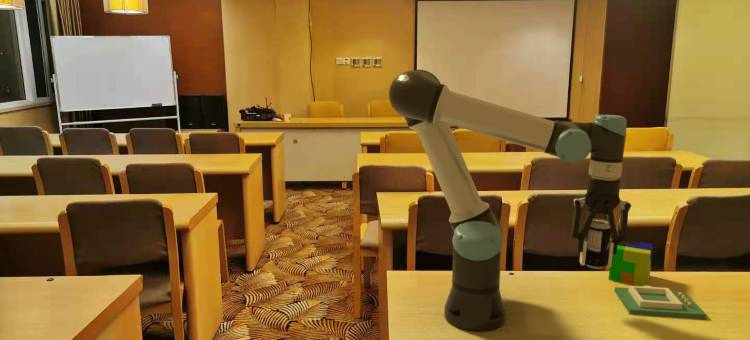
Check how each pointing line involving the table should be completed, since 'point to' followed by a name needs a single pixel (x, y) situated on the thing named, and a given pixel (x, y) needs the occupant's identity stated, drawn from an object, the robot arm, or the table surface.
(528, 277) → the table surface
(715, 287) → the table surface
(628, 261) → the puzzle toy
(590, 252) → the beverage can
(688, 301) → the header board
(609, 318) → the table surface
